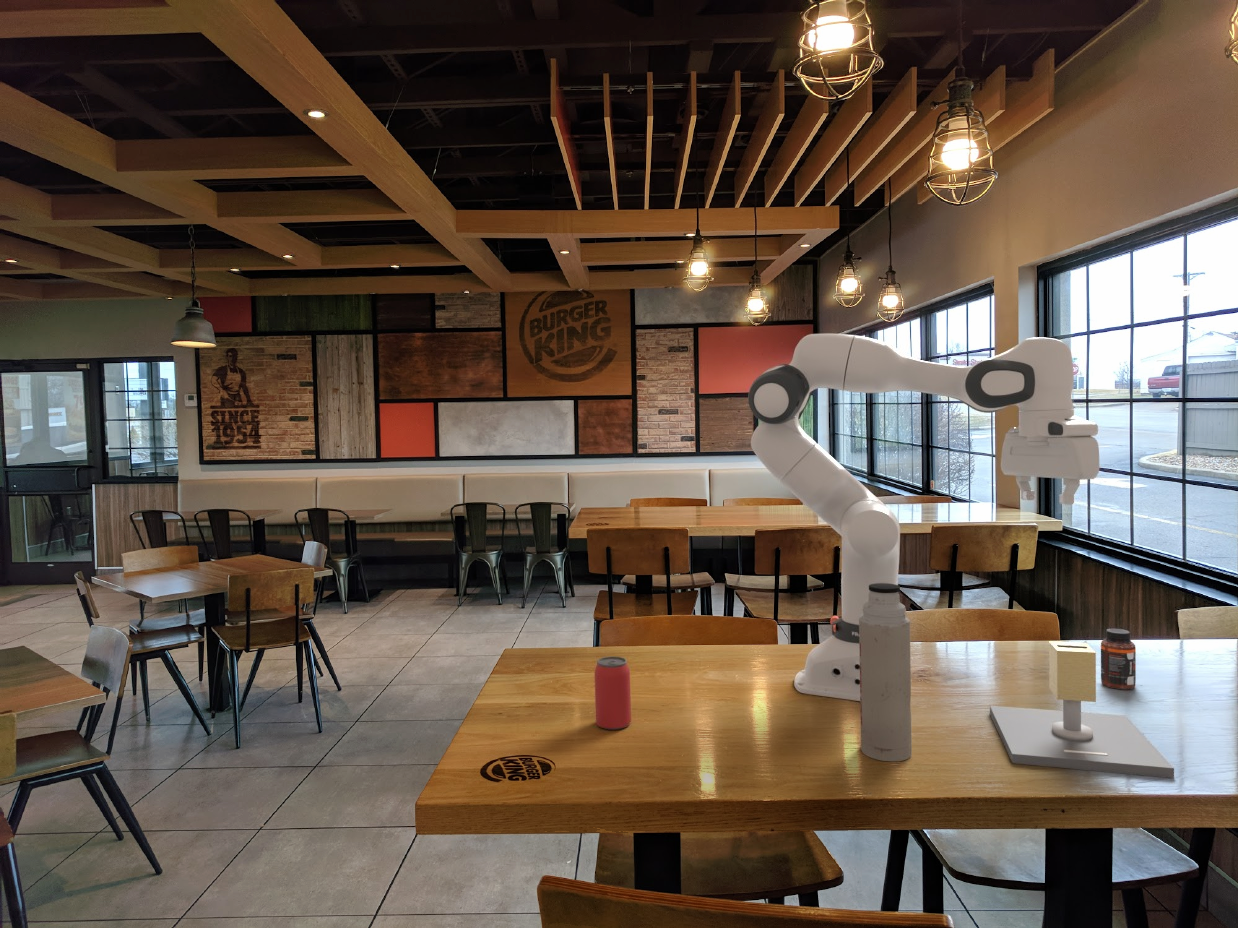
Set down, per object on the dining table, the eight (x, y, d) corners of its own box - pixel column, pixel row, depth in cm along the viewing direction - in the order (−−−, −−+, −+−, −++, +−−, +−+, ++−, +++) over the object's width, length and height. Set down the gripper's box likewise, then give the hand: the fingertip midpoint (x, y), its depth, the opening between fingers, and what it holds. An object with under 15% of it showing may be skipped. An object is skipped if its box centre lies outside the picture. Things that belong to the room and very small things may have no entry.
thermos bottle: (853, 753, 127) (850, 586, 126) (871, 738, 133) (869, 578, 132) (901, 765, 122) (899, 591, 121) (918, 749, 128) (916, 583, 127)
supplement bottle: (1141, 691, 153) (1141, 634, 152) (1108, 690, 154) (1108, 634, 153) (1127, 681, 158) (1127, 627, 158) (1095, 680, 160) (1095, 626, 159)
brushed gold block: (1057, 699, 127) (1057, 649, 127) (1049, 688, 133) (1049, 640, 132) (1095, 701, 126) (1095, 651, 125) (1086, 690, 131) (1086, 641, 130)
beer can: (600, 732, 139) (598, 667, 139) (592, 720, 145) (590, 657, 145) (635, 728, 141) (633, 663, 140) (625, 715, 147) (624, 653, 147)
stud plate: (1012, 762, 122) (1011, 704, 122) (989, 713, 143) (989, 663, 143) (1174, 777, 116) (1174, 715, 115) (1125, 723, 137) (1125, 670, 136)
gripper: (991, 427, 150) (992, 498, 150) (1074, 426, 130) (1075, 507, 130) (1019, 427, 151) (1020, 497, 152) (1106, 425, 131) (1106, 505, 132)
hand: (1046, 502), depth 141 cm, fingers open, 8 cm apart
